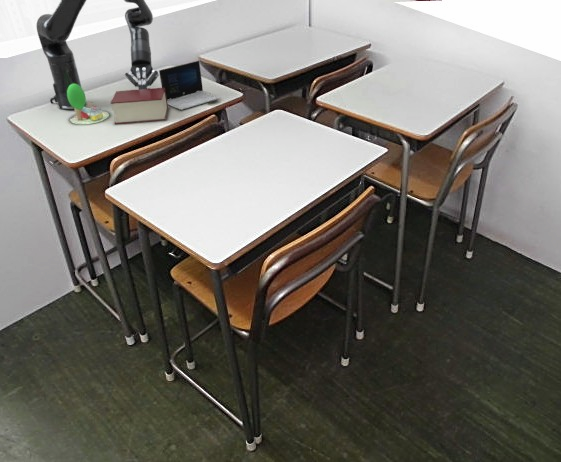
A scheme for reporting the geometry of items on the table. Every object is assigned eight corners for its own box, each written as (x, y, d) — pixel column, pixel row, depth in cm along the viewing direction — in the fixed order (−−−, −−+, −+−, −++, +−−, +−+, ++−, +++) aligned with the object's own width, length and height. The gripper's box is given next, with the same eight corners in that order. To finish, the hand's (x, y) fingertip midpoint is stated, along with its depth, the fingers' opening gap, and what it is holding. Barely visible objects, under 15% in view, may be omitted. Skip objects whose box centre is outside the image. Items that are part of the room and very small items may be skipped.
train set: (106, 81, 188) (68, 90, 181) (115, 117, 195) (78, 127, 189) (91, 73, 198) (54, 81, 191) (99, 107, 206) (64, 116, 199)
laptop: (180, 111, 198) (175, 76, 191) (164, 103, 206) (158, 70, 199) (220, 99, 208) (216, 66, 200) (202, 92, 216) (198, 60, 209)
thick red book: (115, 124, 190) (110, 102, 185) (120, 111, 201) (116, 91, 196) (165, 120, 191) (161, 98, 187) (168, 108, 202) (164, 87, 197)
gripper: (121, 50, 201) (123, 92, 197) (156, 47, 202) (158, 89, 198) (126, 60, 208) (128, 101, 205) (159, 58, 209) (162, 98, 205)
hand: (143, 95), depth 201 cm, fingers closed
